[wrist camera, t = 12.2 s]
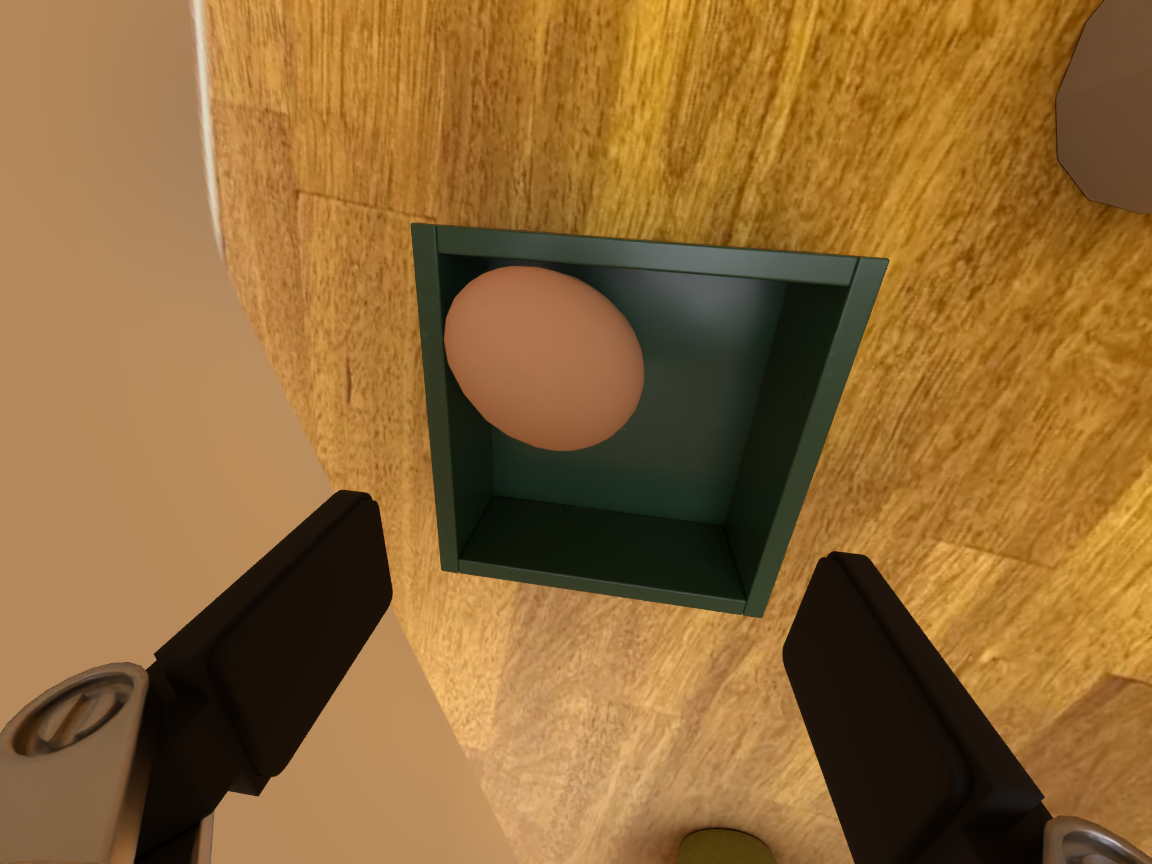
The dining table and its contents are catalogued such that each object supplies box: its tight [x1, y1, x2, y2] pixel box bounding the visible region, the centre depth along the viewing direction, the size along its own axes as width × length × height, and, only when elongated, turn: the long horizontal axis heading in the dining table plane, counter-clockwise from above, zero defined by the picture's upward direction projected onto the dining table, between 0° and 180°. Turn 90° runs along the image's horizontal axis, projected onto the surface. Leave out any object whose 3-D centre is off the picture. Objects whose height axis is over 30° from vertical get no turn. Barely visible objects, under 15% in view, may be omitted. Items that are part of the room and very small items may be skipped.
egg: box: [444, 266, 644, 451], centre depth 15 cm, size 6×6×8 cm
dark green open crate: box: [411, 223, 889, 618], centre depth 17 cm, size 14×14×6 cm
